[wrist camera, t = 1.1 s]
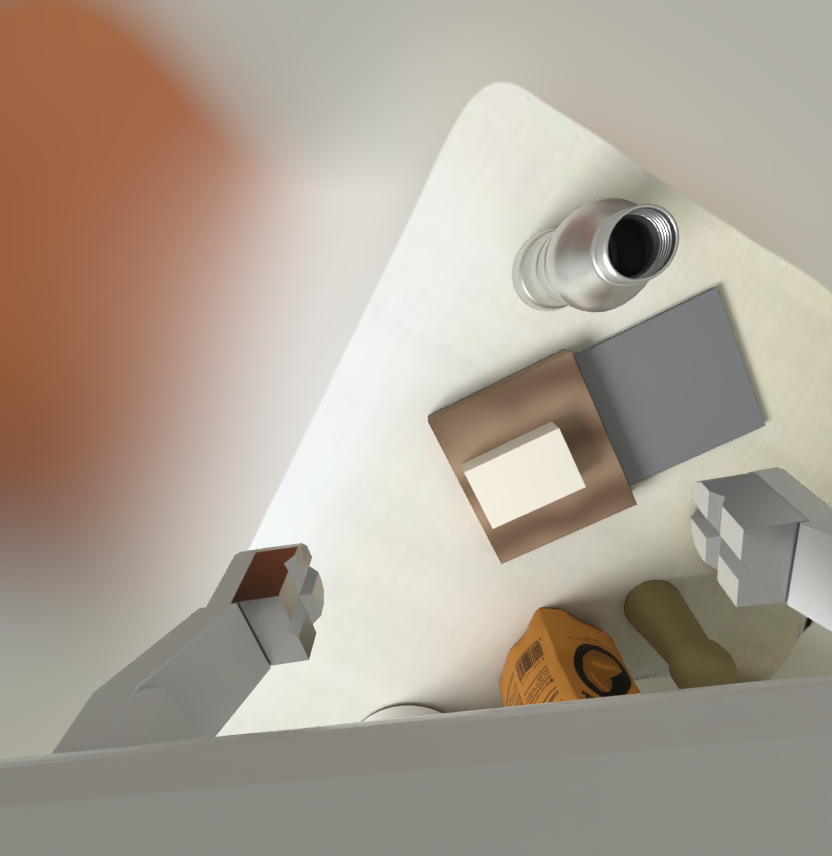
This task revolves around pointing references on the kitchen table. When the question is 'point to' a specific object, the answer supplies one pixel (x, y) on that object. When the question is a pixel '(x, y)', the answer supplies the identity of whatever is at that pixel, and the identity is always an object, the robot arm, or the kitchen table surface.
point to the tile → (523, 474)
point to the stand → (521, 413)
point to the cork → (678, 636)
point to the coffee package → (563, 663)
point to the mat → (671, 387)
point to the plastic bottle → (596, 256)
